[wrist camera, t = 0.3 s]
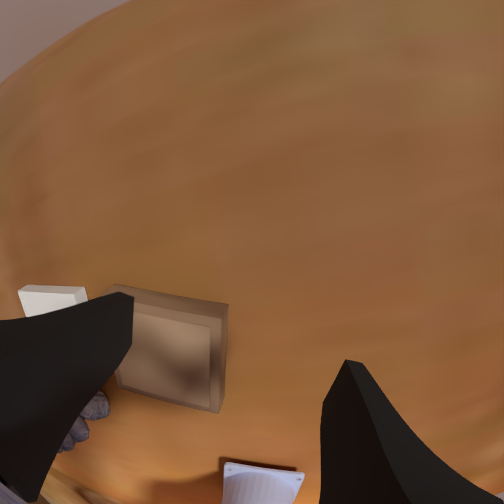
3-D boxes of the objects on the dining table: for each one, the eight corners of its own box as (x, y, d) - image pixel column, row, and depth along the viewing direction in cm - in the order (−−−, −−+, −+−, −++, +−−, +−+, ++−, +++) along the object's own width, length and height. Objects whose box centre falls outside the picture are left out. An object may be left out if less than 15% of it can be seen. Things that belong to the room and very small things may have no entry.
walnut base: (224, 397, 25) (218, 414, 23) (127, 373, 26) (117, 387, 24) (228, 304, 22) (220, 320, 20) (115, 283, 23) (99, 295, 21)
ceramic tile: (110, 366, 26) (102, 375, 24) (52, 354, 27) (44, 362, 26) (84, 286, 23) (73, 294, 22) (27, 284, 25) (17, 290, 24)
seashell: (86, 400, 29) (38, 460, 19) (67, 362, 27) (10, 421, 18) (124, 409, 28) (78, 479, 18) (107, 369, 26) (49, 440, 17)
